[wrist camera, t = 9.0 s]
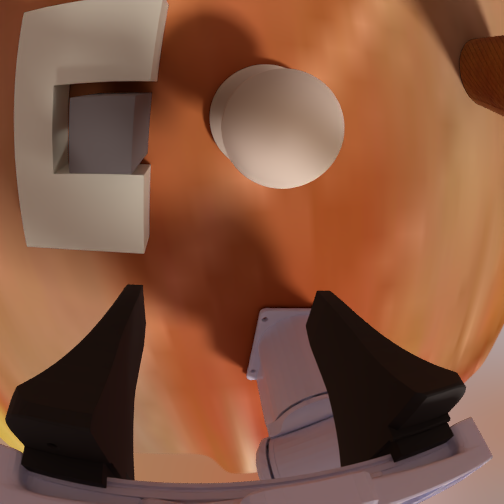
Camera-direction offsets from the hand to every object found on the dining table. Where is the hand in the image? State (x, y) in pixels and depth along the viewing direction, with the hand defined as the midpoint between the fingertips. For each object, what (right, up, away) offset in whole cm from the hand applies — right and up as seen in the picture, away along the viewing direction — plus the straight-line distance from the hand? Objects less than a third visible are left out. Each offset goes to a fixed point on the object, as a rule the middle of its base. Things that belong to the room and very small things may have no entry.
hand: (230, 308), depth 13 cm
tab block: (-7, +10, +5) cm, 14 cm away
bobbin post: (+2, +11, +6) cm, 13 cm away
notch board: (-10, +11, +4) cm, 15 cm away
